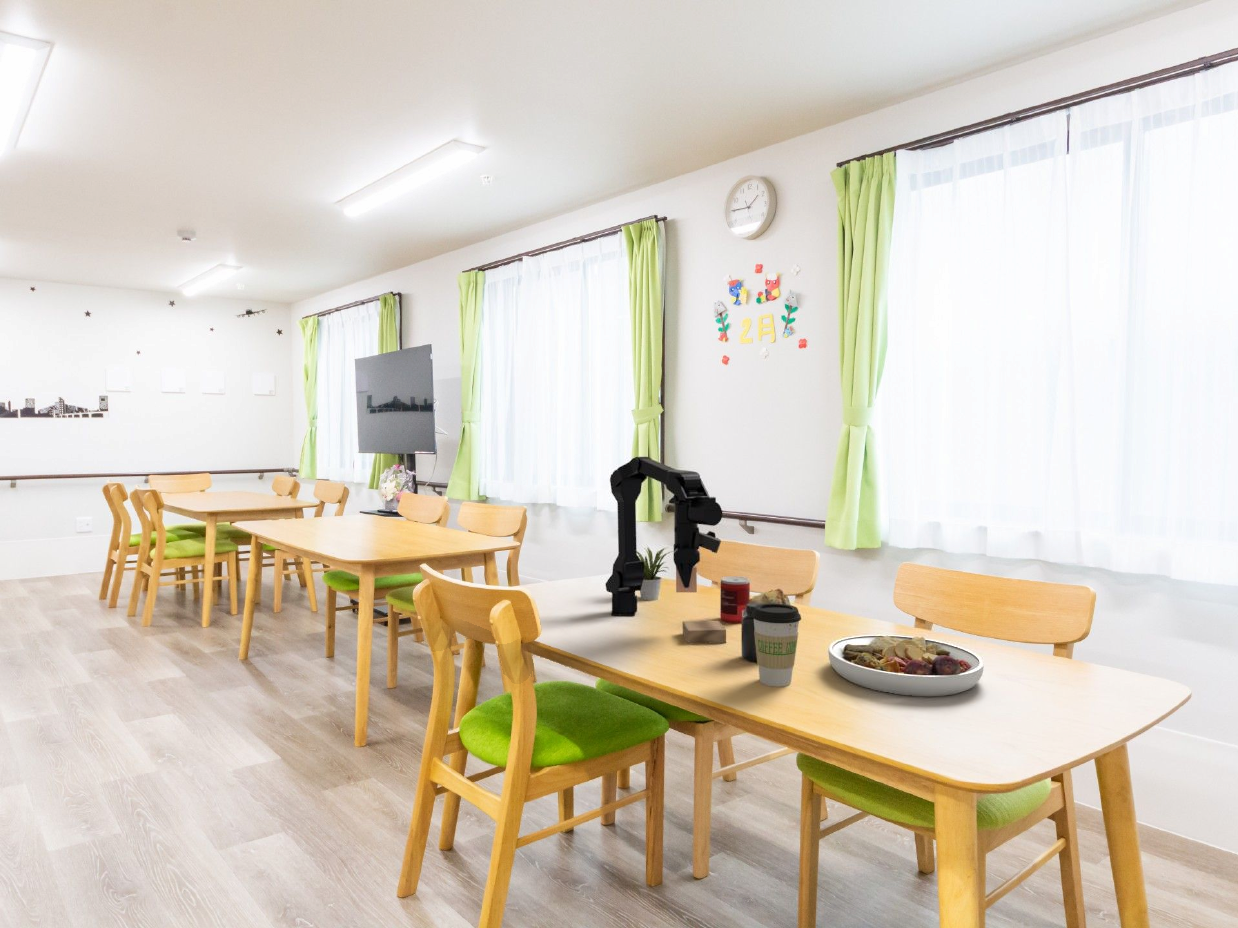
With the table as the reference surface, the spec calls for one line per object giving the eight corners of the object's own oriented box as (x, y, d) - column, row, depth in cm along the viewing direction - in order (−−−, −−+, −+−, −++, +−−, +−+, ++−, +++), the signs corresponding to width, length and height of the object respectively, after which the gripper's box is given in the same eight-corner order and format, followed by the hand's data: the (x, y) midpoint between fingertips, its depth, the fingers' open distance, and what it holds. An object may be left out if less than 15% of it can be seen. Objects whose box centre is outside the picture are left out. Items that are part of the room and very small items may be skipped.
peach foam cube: (676, 592, 192) (675, 567, 192) (676, 588, 197) (675, 564, 197) (696, 592, 191) (696, 567, 191) (696, 588, 196) (696, 564, 196)
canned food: (748, 616, 213) (748, 576, 213) (750, 624, 205) (750, 582, 205) (719, 616, 214) (720, 575, 213) (720, 623, 206) (721, 581, 205)
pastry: (803, 622, 208) (803, 592, 207) (760, 625, 205) (760, 594, 204) (778, 610, 221) (779, 582, 221) (737, 613, 218) (738, 584, 218)
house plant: (681, 594, 241) (681, 541, 240) (674, 604, 227) (674, 548, 227) (635, 592, 244) (635, 540, 243) (625, 601, 231) (626, 546, 230)
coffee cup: (771, 692, 152) (772, 615, 151) (740, 678, 160) (741, 605, 160) (810, 685, 156) (811, 610, 156) (779, 671, 165) (779, 600, 164)
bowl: (799, 664, 171) (800, 628, 171) (909, 650, 182) (909, 617, 182) (895, 710, 143) (896, 668, 143) (1017, 691, 154) (1018, 651, 154)
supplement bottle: (775, 656, 176) (776, 603, 176) (768, 664, 170) (768, 609, 169) (745, 652, 179) (746, 600, 178) (737, 660, 173) (737, 606, 172)
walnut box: (688, 645, 186) (688, 630, 186) (682, 635, 195) (682, 621, 195) (726, 644, 187) (726, 629, 187) (718, 634, 196) (718, 620, 196)
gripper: (721, 526, 184) (721, 592, 184) (716, 518, 202) (717, 579, 203) (673, 526, 185) (673, 592, 185) (673, 519, 203) (673, 579, 204)
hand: (686, 585), depth 194 cm, fingers closed on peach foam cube, 5 cm apart
